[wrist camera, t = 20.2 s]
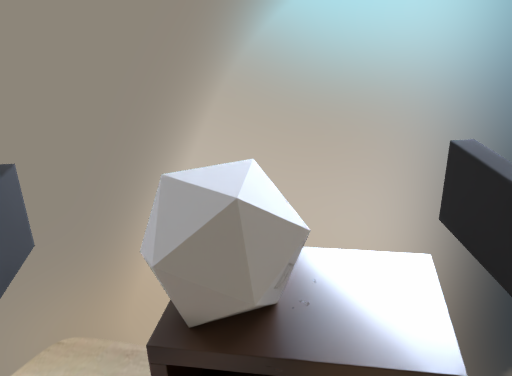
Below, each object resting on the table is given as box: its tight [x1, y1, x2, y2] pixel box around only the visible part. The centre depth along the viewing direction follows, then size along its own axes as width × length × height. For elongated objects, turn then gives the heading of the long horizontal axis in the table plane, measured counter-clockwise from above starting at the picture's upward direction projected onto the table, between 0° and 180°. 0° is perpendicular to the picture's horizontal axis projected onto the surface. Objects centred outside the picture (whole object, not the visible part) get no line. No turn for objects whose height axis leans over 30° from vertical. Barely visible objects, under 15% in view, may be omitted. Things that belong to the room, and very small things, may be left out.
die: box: [140, 159, 311, 328], centre depth 27 cm, size 8×9×10 cm
